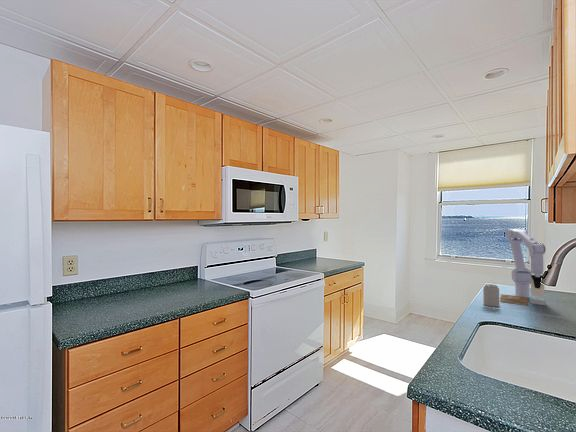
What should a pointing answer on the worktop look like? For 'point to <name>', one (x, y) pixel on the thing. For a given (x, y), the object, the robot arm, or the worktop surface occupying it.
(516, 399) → the worktop surface
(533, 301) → the stand
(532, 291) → the beige rectangular block
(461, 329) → the worktop surface
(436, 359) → the worktop surface
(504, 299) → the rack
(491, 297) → the can
